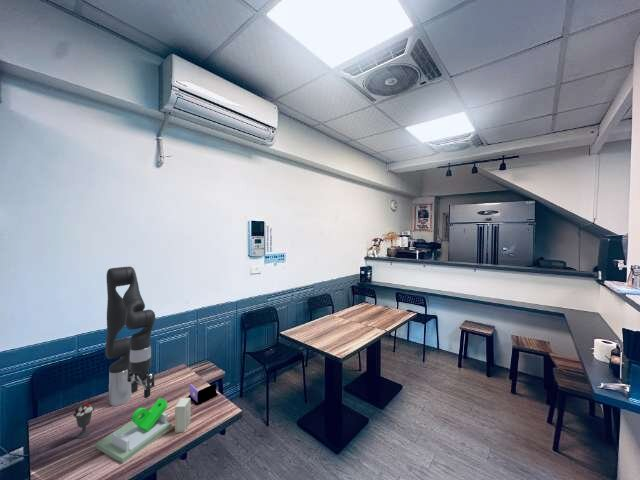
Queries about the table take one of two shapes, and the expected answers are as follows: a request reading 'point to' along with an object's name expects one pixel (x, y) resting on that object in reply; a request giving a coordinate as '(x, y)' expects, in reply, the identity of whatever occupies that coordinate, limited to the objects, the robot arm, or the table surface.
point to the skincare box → (182, 415)
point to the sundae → (83, 419)
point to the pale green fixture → (131, 439)
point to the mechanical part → (149, 415)
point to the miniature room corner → (202, 394)
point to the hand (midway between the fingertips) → (140, 394)
